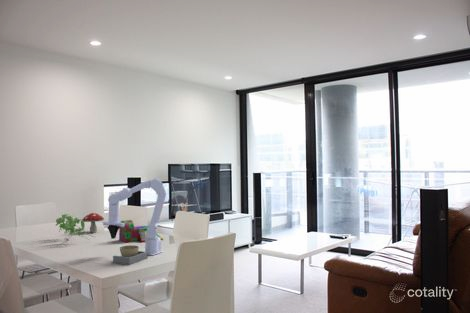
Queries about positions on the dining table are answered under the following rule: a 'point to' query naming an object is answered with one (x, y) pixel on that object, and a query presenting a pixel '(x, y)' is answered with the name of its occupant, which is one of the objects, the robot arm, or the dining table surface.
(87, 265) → the dining table surface
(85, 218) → the decorative mushroom
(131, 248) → the flower pot
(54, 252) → the dining table surface
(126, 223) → the puzzle
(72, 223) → the plant cuttings
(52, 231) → the dining table surface
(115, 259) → the bracket
